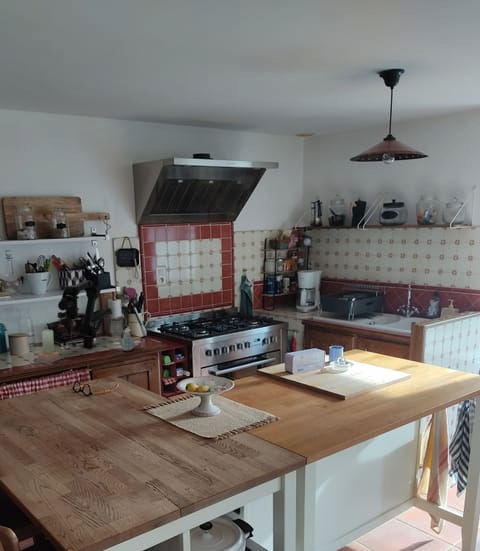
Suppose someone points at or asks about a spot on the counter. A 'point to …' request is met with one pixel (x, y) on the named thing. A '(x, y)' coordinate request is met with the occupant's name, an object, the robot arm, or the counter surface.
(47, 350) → the column brick
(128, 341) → the toy figure
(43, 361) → the tower base
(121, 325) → the coffee box
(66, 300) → the robot arm
